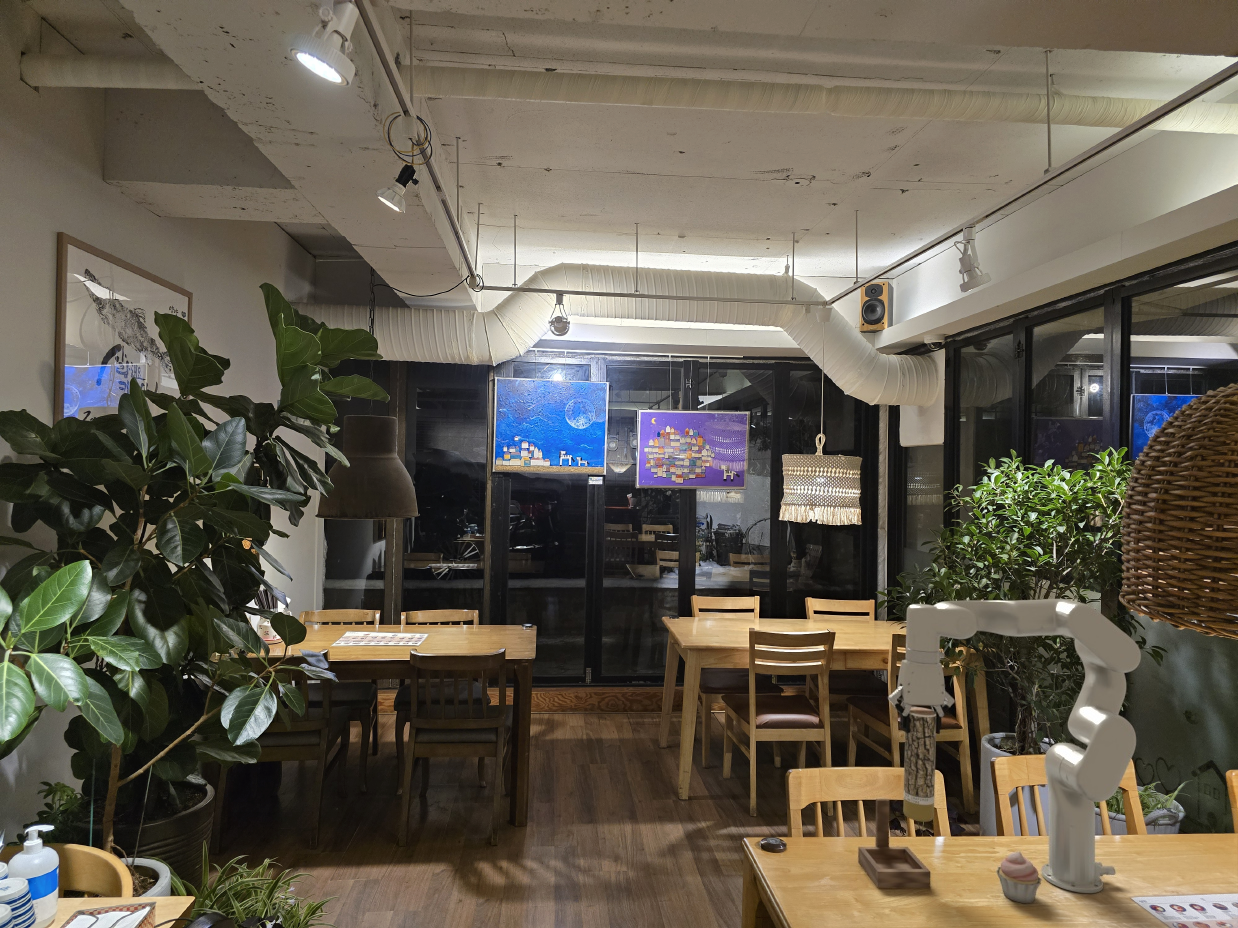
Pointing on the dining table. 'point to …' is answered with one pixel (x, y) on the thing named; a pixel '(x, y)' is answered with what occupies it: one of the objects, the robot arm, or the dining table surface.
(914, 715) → the paper tube
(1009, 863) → the cupcake
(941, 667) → the robot arm
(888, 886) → the holder
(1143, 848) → the dining table surface
